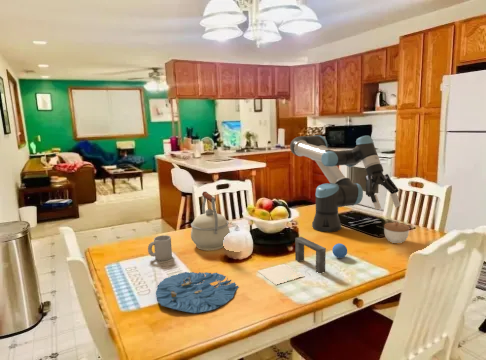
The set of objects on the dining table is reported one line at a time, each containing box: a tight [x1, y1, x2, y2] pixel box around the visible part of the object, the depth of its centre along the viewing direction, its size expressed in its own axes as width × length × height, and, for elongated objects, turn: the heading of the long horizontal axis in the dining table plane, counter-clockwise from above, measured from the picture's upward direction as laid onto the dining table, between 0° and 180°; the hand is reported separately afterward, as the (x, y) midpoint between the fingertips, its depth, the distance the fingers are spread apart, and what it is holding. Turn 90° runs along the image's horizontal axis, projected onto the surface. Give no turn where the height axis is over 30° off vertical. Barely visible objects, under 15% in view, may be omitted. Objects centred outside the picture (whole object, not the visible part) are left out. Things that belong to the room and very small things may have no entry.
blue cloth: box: [155, 271, 240, 314], centre depth 119 cm, size 30×30×5 cm
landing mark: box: [257, 263, 305, 286], centre depth 130 cm, size 13×13×1 cm
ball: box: [332, 242, 348, 259], centre depth 144 cm, size 6×6×6 cm
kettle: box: [190, 191, 231, 251], centre depth 161 cm, size 25×18×25 cm
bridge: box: [294, 236, 327, 274], centre depth 136 cm, size 3×15×10 cm, turn 28°
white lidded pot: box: [383, 221, 410, 244], centre depth 159 cm, size 11×11×9 cm
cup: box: [147, 234, 173, 261], centre depth 148 cm, size 7×10×9 cm
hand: (388, 207), depth 158 cm, fingers open, 13 cm apart
